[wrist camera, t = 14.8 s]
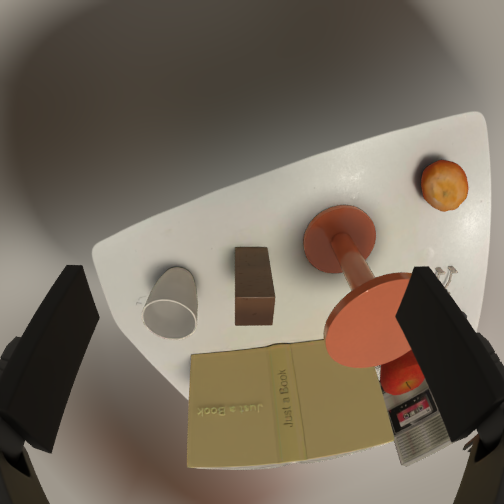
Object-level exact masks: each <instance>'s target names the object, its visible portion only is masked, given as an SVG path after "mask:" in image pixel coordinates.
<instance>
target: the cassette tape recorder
mask: <svg viewBox="0 0 504 504" xmlns="http://www.w3.org/2000/svg"><path fill="white" fill-rule="evenodd" d="M379 383H380V387H381V390H382V394H383V397H384V401H385V404H386V408H387V412H388V415H389V419H390V423H391V427H392V431H393V435H394V439H395V440H394V443H395V446H396V449H397V452H398V456H399V459H400V463H401V465H403V466H406V467H407V466H409V465H411V464H413V463H415V462H418V461H420V460H422V459H424V458H426V457H428V456H430V455H432V454H434V453H436V452H437V451H439V450H441V449H443V448H445V447H447V446H449V445H450V444H452V443H451V440H450V438H449V435H448V432H447V430H446V427H445V425H444V422H443V420H442V417H441V415H440V412H439V410H438V407H437V405H436V403H435V400H434V398H433V396H432V393H431V391H430V389H429V386H428V384H427V382H426V380H425V379H424V381H423V382H422V383H421V384H420V386H418V387H417V388H415V389H414V390H411V391H409V392H407V393H404V394H401V395H391V394H389V393H386V392H385V391H384V389H383V387H382V385H381V382H379ZM453 443H454V442H453Z"/></svg>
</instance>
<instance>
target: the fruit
mask: <svg viewBox="0 0 504 504" xmlns="http://www.w3.org/2000/svg"><path fill="white" fill-rule="evenodd" d="M421 187H422V192H423V197H424V199H425V200H426V201H427V202H428V203H429V204H430V205H431V206H432V207H434V208H436V209H438V210H440V211H443V212H445V211H448V210H455V209H456V208H458V207H459V205H460V204H461V203H462V202H463V201H464V200H465V199H466V197H467V194H468V182H467V177H466V174H465V172H464V171H463V169H462V168H461V167H460V166H459V165H458V164H456V163H454V162H451V161H447V160H438V161H436V162H434V163H432V164H431V165H429V166H427V167H426V168H425V169H424V171H423V173H422V180H421Z"/></svg>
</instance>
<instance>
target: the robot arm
mask: <svg viewBox="0 0 504 504" xmlns="http://www.w3.org/2000/svg"><path fill="white" fill-rule="evenodd" d="M395 317H396V319H397V321H398V323H399V325H400V327H401V329H402V331H403V333H404V335H405V337H406V339H407V341H408V343H409V345H410V347H411V350H412V352H413V354H414V356H415V358H416V360H417V362H418V364H419V366H420V369H421V371H422V373H423V375H424V377H425V380H426V382H427V384H428V386H429V389H430V391H431V393H432V396H433V398H434V400H435V403H436V405H437V407H438V410H439V412H440V415H441V417H442V420H443V422H444V425H445V427H446V430H447V432H448V435H449V438H450V440H451V443H453V442H456V441H458V440H461V439H463V438H466V437H467V436H468V435H470V434H471V433H472V432H473V431H474V430H475V429H477V432H478V434H477V435H476V436H475V437H474V438H473V439H471V440H470V441H469V442H468V443H467V444H465V446H464V448H463V450H466V449H467V448H468V447H470V446H471V445H472V444H473V445H472V447H471V448H470V449H469V450H468V452H470V456H469V459H468V462H467V466H466V469H465V472H464V475H463V478H462V481H461V484H460V487H459V490H458V492H457V495H456V497H455V500H454V503H453V504H504V366H503V364H502V362H500V359H499V357H498V356H497V354H495V351H494V349H493V348H492V346H491V344H490V343H489V341H488V340H487V339H486V338H484V337H483V336H482V335H481V334H480V333H476V332H475V331H474V329H473V328H472V326H471V325H470V323H469V322H468V320H467V319H466V317H465V316H464V314H463V313H462V311H461V310H460V308H459V307H458V305H457V304H456V303H455V301H454V300H453V298H452V297H451V296H450V294H449V293H448V292H447V290H446V289H445V287H444V286H443V285H442V283H441V282H440V281H439V279H438V278H437V277H436V275H435V274H434V273H433V271H432V270H431V269H430V268H429V267H414V269H413V272H412V275H411V277H410V280H409V283H408V286H407V288H406V291H405V293H404V296H403V298H402V301H401V303H400V306H399V308H398V311H397V313H396V316H395ZM98 320H99V314H98V311H97V309H96V306H95V303H94V300H93V297H92V294H91V291H90V288H89V285H88V282H87V279H86V276H85V273H84V269H83V266H82V265H66V267H65V268H64V270H63V271H62V272H61V274H60V275H59V277H58V278H57V280H56V281H55V283H54V284H53V286H52V287H51V289H50V290H49V292H48V294H47V295H46V297H45V299H44V300H43V301H42V303H41V305H40V306H39V308H38V310H37V311H36V313H35V314H34V316H33V318H32V319H31V321H30V323H29V324H28V326H27V328H26V330H25V332H24V333H23V335H22V337H15V338H14V339H13V340H12V341H11V342H10V343H9V344H8V345H7V346H6V348H5V350H4V352H3V354H2V356H1V360H0V504H50V503H49V501H48V500H47V498H46V495H45V493H44V491H43V489H42V487H41V485H40V482H39V480H38V478H37V475H36V473H35V471H34V468H33V465H32V463H31V461H30V458H29V455H28V452H27V451H26V449H25V447H24V446H23V445H24V442H25V440H26V441H27V442H28V443H29V444H30V445H32V447H34V448H36V449H39V450H42V451H45V452H48V453H52V450H53V446H54V443H55V439H56V436H57V432H58V429H59V426H60V422H61V419H62V416H63V413H64V409H65V407H66V404H67V401H68V398H69V395H70V392H71V389H72V386H73V384H74V381H75V378H76V375H77V373H78V370H79V367H80V365H81V362H82V359H83V357H84V354H85V352H86V349H87V347H88V344H89V342H90V339H91V337H92V334H93V332H94V330H95V327H96V325H97V322H98Z"/></svg>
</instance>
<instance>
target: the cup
mask: <svg viewBox="0 0 504 504" xmlns="http://www.w3.org/2000/svg"><path fill="white" fill-rule="evenodd" d="M197 309H198V302H197V292H196V286H195V283H194V280H193V277H192V275H191V273H190V272H189V271H187V270H186V269H184V268H180V267H173V268H170V269H169V270H167V271H166V272H165V273H164V274H163V275H162V276H161V277H160V278H159V280H158V281H157V283H156V284H155V286H154V288H153V289H152V291H151V292H150V295H149V297H148V299H147V302H146V304H145V307H144V309H143V311H142V320H143V323H144V325H145V326H146V328H147V329H148V330H149V331H150V332H152V333H153V334H155V335H157V336H159V337H161V338H164V339H169V340H179V339H184V338H186V337H188V336H190V335H191V334H193V332H194V331H195V329H196V327H197Z"/></svg>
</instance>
